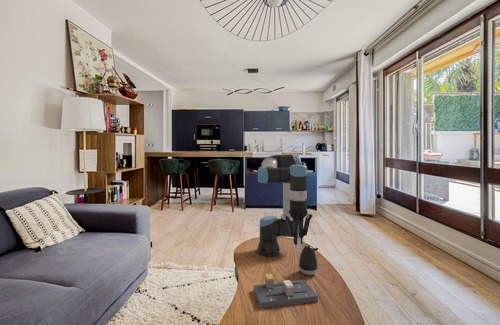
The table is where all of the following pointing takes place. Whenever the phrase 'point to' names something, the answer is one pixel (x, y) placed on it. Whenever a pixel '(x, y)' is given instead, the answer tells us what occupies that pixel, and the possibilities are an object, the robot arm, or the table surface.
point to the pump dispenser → (308, 261)
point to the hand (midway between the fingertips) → (298, 251)
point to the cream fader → (288, 288)
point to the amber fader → (269, 281)
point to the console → (279, 298)
